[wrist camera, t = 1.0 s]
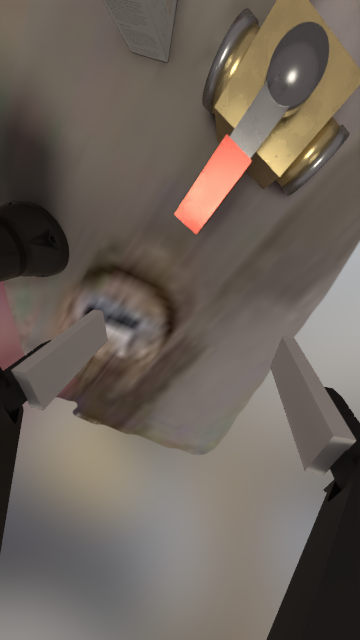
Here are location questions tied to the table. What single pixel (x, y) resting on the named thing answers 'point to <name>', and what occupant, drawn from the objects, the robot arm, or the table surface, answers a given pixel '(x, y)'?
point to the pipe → (214, 74)
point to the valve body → (304, 125)
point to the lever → (259, 119)
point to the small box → (145, 25)
